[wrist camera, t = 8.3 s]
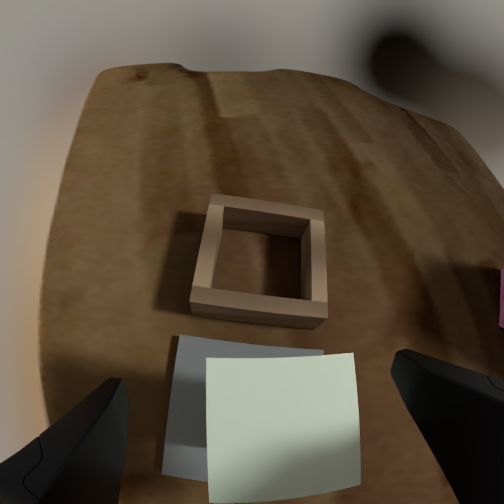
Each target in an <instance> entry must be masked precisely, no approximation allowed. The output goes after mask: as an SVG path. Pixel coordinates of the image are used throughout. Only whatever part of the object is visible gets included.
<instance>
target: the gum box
mask: <svg viewBox="0 0 504 504" xmlns="http://www.w3.org/2000/svg"><path fill="white" fill-rule="evenodd" d="M499 326H501V327H502V328H504V267H503V268H502V269H501V288H500V316H499Z"/></svg>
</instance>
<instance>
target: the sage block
mask: <svg viewBox="0 0 504 504" xmlns="http://www.w3.org/2000/svg"><path fill="white" fill-rule="evenodd" d="M206 428H207V464H208V488H209V503H249V502H264V501H275V500H284V499H292V498H299V497H306V496H312V495H317V494H322V493H327V492H332V491H337V490H341V489H345V488H349V487H353V486H357V485H361V461H360V430H359V412H358V398H357V386H356V375H355V365H354V356H353V353H345V354H334V355H321V356H305V357H284V358H206Z"/></svg>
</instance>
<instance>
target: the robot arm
mask: <svg viewBox="0 0 504 504" xmlns="http://www.w3.org/2000/svg"><path fill="white" fill-rule="evenodd" d="M391 376H392V378H393V380H394V382H395V384H396V386H397V389H398V391H399V393H400V395H401V397H402V399H403V401H404V404H405V406H406V408H407V409H408V411H409V413H410V414H411V416H412V418H413V420H414V421H415V423H416V425H417V426H418V428H419V430H420V432H421V433H422V435H423V437H424V438H425V440H426V442H427V444H428V445H429V447H430V449H431V451H432V453H433V454H434V456H435V458H436V460H437V462H438V463H439V465H440V467H441V469H442V471H443V473H444V474H445V476H446V478H447V480H448V482H449V484H450V486H451V488H452V489H453V492H454V494H455V496H456V498H457V500H458V501H459V503H460V504H504V380H502V379H498V378H495V377H491V376H488V375H487V376H486V375H485V374H482V373H478V372H475V371H472V370H469V369H466V368H463V367H460V366H457V365H454V364H451V363H448V362H445V361H442V360H439V359H436V358H433V357H430V356H427V355H424V354H421V353H418V352H415V351H413V350H410V349H403V350H399V351H397V352H396V354H395V357H394V361H393V364H392V367H391ZM129 405H130V402H129V396H128V393H127V390H126V387H125V383H124V381H123V379H122V378H115V377H110V378H108V379H107V380H106V381H104V382H103V383H102V384H101V385H100V386H98V387H97V388H96V389H95V390H94V391H92V392H91V393H90V394H89V395H88V396H86V397H85V398H84V399H83V400H81V401H80V402H79V403H78V404H77V405H75V406H74V407H73V408H72V409H71V410H69V411H68V412H67V413H66V414H64V415H63V416H62V417H61V418H60V419H58V420H57V421H56V422H55V423H54V424H52V425H51V426H50V427H49V428H47V429H46V430H45V431H44V432H43V433H41V434H40V436H39V437H36V438H35V439H34V440H33V441H31V442H30V443H29V444H28V445H26V446H25V447H24V448H22V449H21V450H20V451H18V452H17V453H15V454H14V455H12V456H11V457H9V458H8V459H6V460H5V461H3V462H2V463H0V504H118V502H119V494H120V486H121V479H122V473H123V466H124V460H125V454H126V448H127V436H128V419H129Z"/></svg>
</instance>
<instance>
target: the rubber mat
mask: <svg viewBox="0 0 504 504" xmlns="http://www.w3.org/2000/svg"><path fill="white" fill-rule="evenodd" d="M321 355H324V350H313V349H298V348H285V347H274V346H263V345H254V344H245V343H237V342H229V341H221V340H214V339H207V338H200V337H194V336H187V335H181V334H180V336H179V342H178V349H177V355H176V361H175V368H174V374H173V381H172V388H171V396H170V403H169V411H168V419H167V427H166V436H165V445H164V455H163V466H162V474H163V475H168V476H173V477H179V478H185V479H191V480H197V481H205V482H208V464H207V428H206V358H284V357H305V356H321Z"/></svg>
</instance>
